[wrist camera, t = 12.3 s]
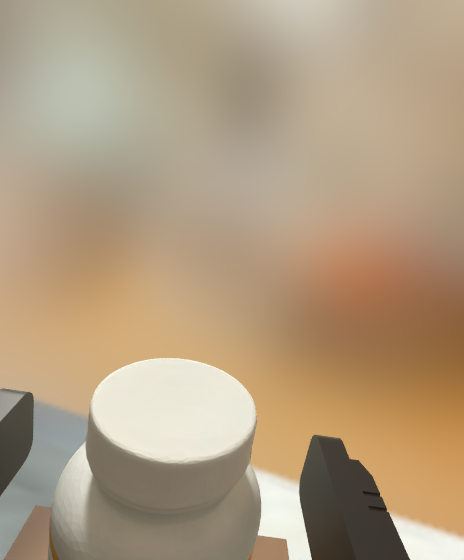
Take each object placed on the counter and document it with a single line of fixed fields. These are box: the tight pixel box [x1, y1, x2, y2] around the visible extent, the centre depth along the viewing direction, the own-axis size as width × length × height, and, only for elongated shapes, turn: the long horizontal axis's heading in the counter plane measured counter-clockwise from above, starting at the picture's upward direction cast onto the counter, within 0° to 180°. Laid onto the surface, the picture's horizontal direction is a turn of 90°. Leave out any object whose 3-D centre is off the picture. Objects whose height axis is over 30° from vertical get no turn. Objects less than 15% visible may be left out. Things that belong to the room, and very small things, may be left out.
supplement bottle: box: [48, 358, 261, 560], centre depth 10 cm, size 5×5×10 cm
